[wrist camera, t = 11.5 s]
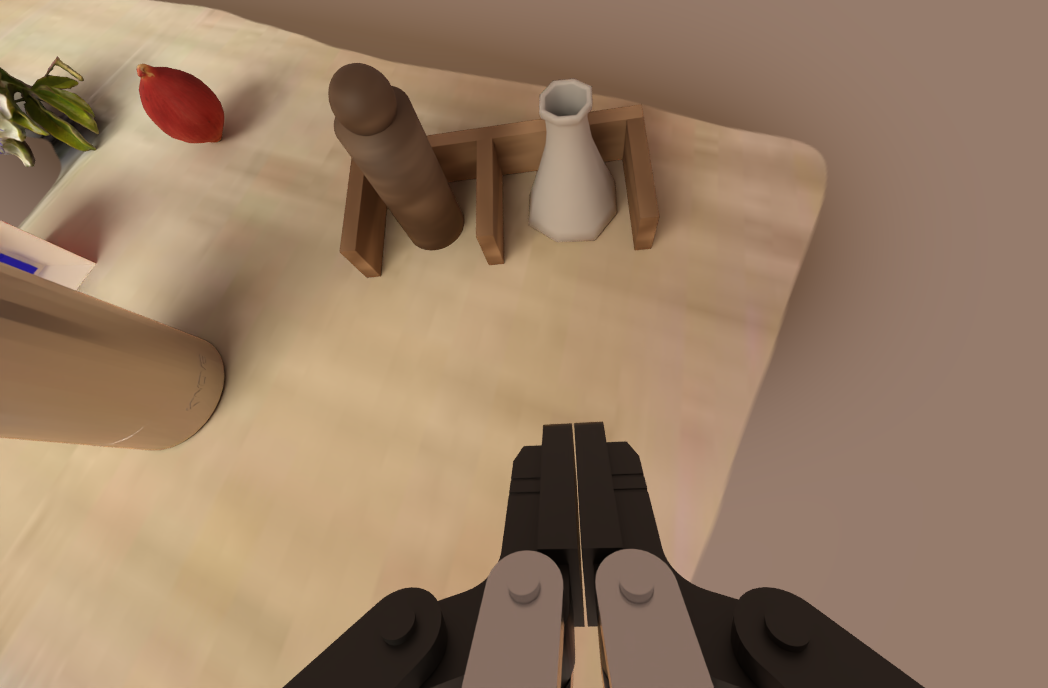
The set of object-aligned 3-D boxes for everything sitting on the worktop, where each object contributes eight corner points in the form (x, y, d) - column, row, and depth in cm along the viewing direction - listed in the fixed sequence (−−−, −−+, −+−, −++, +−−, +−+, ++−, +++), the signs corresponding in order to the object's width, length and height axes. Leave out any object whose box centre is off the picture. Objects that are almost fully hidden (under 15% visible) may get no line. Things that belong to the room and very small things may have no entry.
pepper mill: (406, 253, 34) (297, 113, 22) (410, 204, 36) (310, 46, 23) (463, 247, 34) (386, 99, 21) (464, 197, 35) (392, 32, 23)
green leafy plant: (91, 194, 50) (-73, 135, 42) (124, 111, 51) (-31, 38, 43) (79, 179, 42) (-129, 102, 34) (118, 81, 43) (-76, -17, 35)
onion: (182, 142, 43) (96, 69, 35) (228, 107, 44) (152, 28, 36) (207, 172, 41) (121, 101, 33) (254, 135, 42) (180, 58, 34)
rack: (366, 277, 34) (339, 251, 31) (376, 180, 37) (352, 146, 34) (651, 248, 31) (659, 216, 28) (635, 145, 35) (641, 104, 31)
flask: (514, 233, 34) (485, 136, 24) (544, 162, 35) (528, 45, 26) (602, 255, 32) (608, 159, 23) (629, 178, 34) (644, 60, 24)
